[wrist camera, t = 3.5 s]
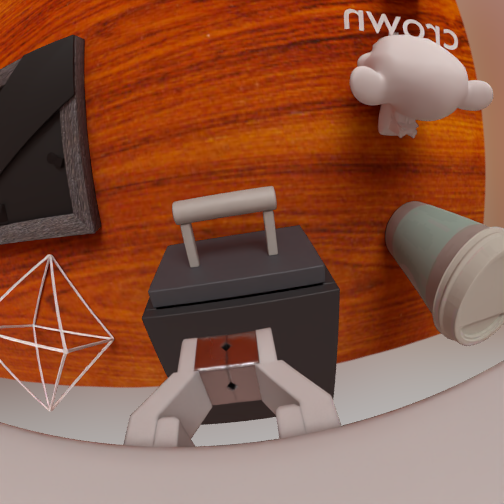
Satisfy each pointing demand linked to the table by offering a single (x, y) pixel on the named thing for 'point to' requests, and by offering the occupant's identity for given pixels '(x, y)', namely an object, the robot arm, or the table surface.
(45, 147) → the picture frame
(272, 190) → the open drawer with handle
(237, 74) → the table surface
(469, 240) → the coffee cup
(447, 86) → the figurine
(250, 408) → the dark grey box
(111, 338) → the geometric polyhedron
